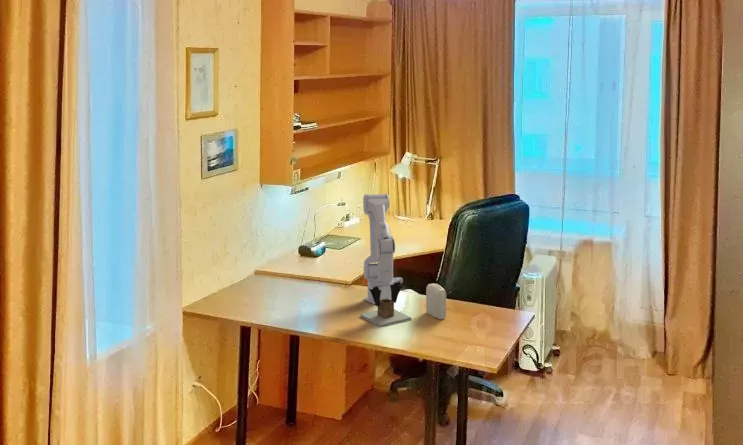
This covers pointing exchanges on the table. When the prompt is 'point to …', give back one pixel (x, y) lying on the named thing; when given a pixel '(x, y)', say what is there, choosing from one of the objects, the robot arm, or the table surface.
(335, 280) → the table surface
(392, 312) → the hollow wooden block
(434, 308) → the photo printer
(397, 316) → the pin base
